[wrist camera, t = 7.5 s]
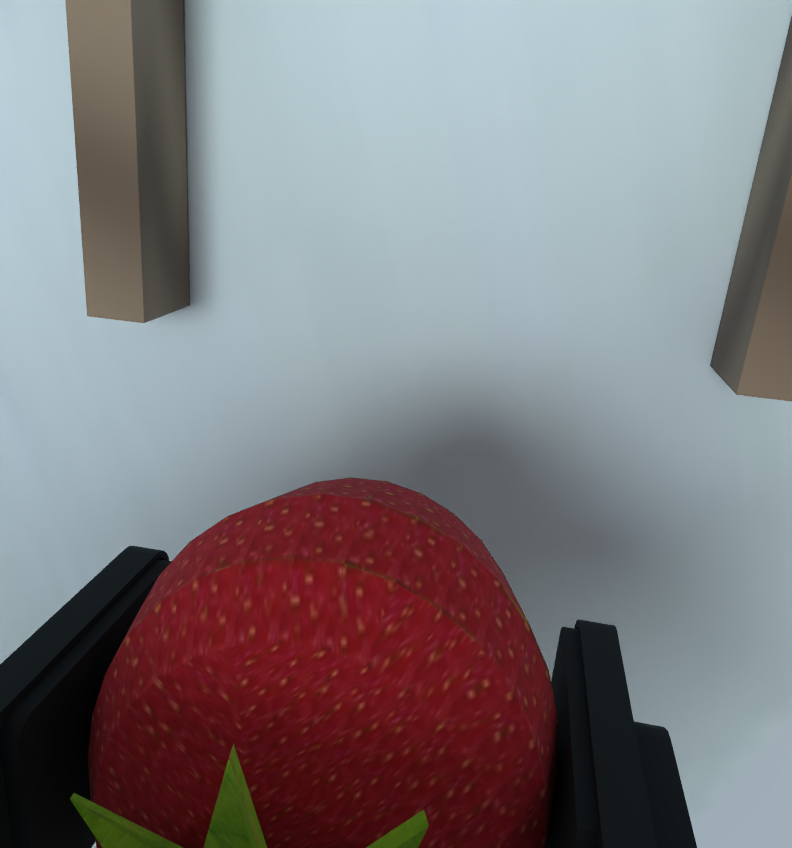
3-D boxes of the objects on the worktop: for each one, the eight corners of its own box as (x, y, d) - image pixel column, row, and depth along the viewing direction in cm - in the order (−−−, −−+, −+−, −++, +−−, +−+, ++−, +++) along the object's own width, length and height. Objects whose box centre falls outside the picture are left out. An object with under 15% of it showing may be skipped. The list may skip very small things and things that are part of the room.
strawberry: (591, 411, 13) (750, 1035, 4) (502, 738, 16) (459, 1589, 6) (274, 345, 14) (-294, 727, 4) (239, 670, 16) (-157, 1348, 7)
